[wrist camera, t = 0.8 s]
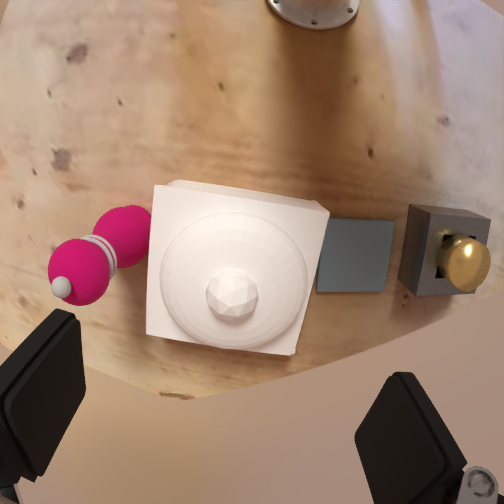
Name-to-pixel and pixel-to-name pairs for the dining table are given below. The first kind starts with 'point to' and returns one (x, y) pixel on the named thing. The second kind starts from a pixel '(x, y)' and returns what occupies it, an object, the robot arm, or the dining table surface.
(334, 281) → the mat
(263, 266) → the butter dish
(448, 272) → the end cover
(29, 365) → the robot arm
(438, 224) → the housing
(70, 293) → the pepper mill
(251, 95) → the dining table surface
